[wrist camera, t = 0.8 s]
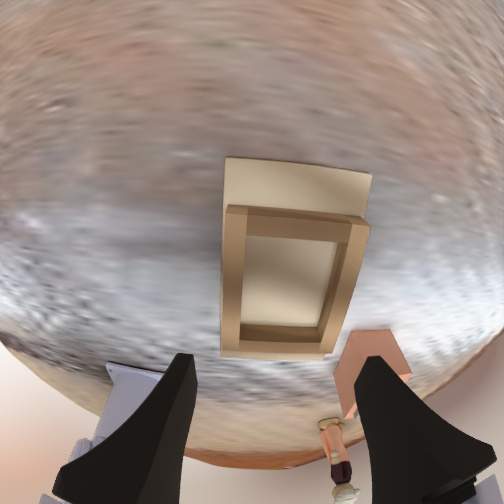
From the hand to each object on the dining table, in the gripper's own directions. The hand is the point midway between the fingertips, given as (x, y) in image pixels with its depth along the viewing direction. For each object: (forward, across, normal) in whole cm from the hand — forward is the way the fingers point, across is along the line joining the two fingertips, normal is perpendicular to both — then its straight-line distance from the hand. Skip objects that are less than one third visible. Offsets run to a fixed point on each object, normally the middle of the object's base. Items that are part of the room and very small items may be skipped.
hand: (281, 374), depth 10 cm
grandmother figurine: (+10, -11, +24) cm, 28 cm away
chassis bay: (+9, -1, +1) cm, 10 cm away
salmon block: (+10, -10, +9) cm, 16 cm away
